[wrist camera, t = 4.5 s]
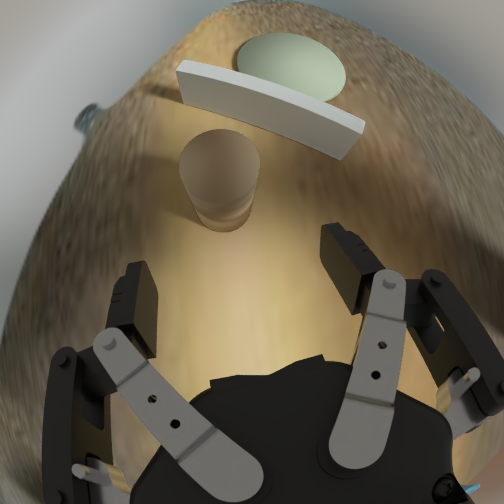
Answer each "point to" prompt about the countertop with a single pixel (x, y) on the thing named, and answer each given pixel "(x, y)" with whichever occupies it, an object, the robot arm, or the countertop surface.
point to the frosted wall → (269, 107)
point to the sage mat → (293, 64)
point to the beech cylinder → (220, 177)
